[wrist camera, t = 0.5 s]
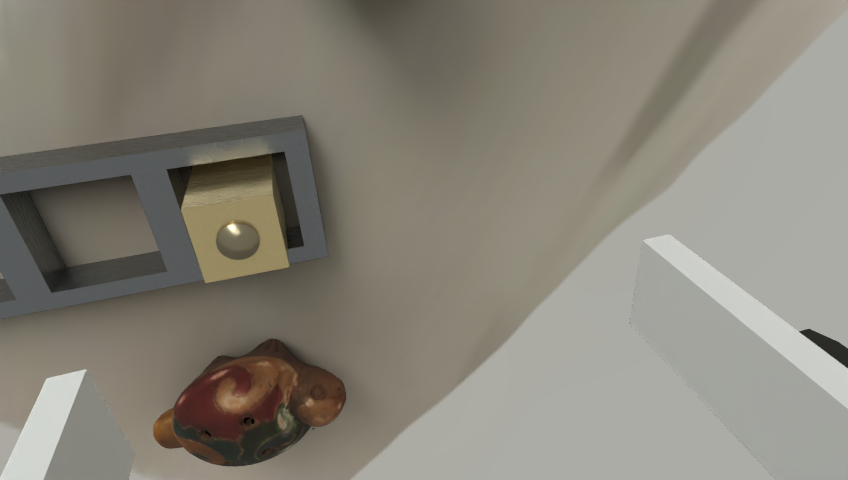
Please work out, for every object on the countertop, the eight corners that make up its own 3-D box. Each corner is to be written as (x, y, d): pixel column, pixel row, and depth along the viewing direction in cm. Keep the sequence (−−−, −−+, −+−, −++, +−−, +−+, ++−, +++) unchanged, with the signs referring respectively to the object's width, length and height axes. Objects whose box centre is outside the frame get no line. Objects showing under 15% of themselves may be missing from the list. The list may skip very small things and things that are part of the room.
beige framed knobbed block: (193, 163, 35) (180, 212, 29) (270, 151, 36) (272, 196, 30) (213, 228, 38) (205, 285, 32) (285, 215, 39) (289, 269, 33)
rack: (-196, 184, 30) (-237, 208, 28) (301, 115, 36) (305, 129, 33) (-101, 313, 35) (-129, 343, 33) (324, 236, 40) (328, 256, 38)
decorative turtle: (359, 365, 48) (371, 443, 41) (206, 431, 48) (194, 517, 42) (309, 293, 42) (313, 369, 36) (135, 367, 43) (109, 456, 36)
